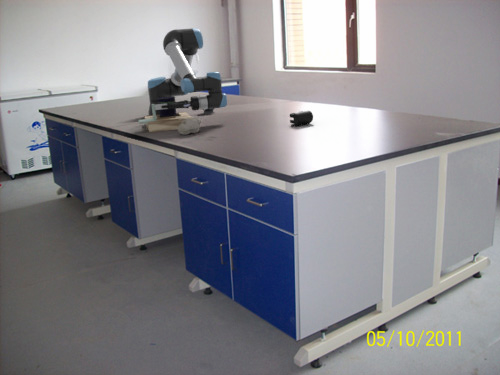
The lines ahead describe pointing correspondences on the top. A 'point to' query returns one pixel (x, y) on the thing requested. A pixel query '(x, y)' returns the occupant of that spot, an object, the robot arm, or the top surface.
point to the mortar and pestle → (208, 111)
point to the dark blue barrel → (165, 111)
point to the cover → (149, 119)
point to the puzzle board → (166, 122)
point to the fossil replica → (189, 126)
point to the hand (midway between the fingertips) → (155, 107)
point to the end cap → (301, 118)
